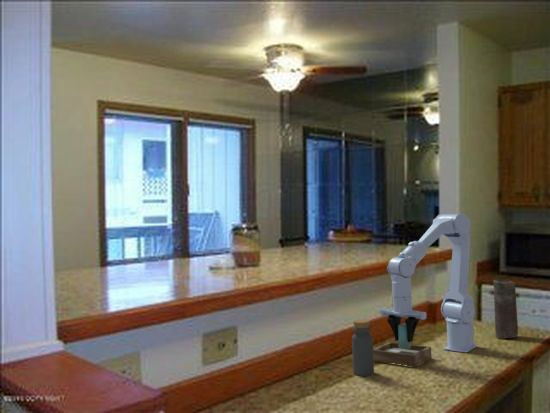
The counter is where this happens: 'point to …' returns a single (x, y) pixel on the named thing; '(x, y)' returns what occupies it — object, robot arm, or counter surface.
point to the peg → (403, 337)
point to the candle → (505, 309)
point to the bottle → (362, 348)
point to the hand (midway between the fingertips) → (404, 340)
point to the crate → (401, 354)
